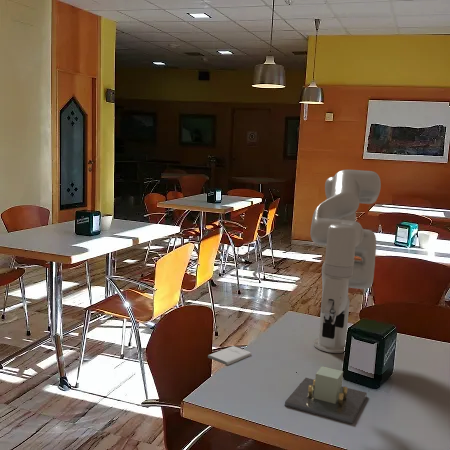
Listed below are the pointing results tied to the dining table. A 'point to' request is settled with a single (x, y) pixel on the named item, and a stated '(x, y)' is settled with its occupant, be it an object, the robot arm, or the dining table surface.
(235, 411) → the dining table surface
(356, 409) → the plate
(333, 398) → the beige block
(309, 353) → the dining table surface
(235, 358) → the external hard drive
